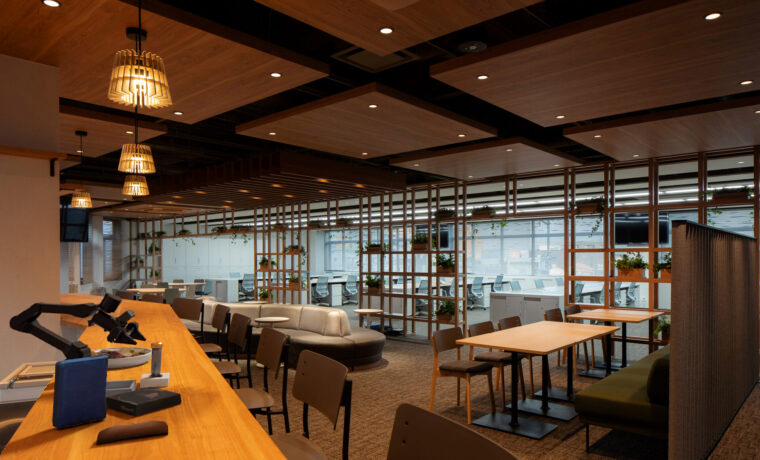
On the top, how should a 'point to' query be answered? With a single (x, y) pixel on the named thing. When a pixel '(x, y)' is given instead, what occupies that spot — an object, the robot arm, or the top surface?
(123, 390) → the pin tray
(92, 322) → the robot arm
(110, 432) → the sunglasses case
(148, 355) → the bowl
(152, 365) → the pin
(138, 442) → the top surface
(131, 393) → the portable cd player
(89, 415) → the book
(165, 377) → the pin socket block
